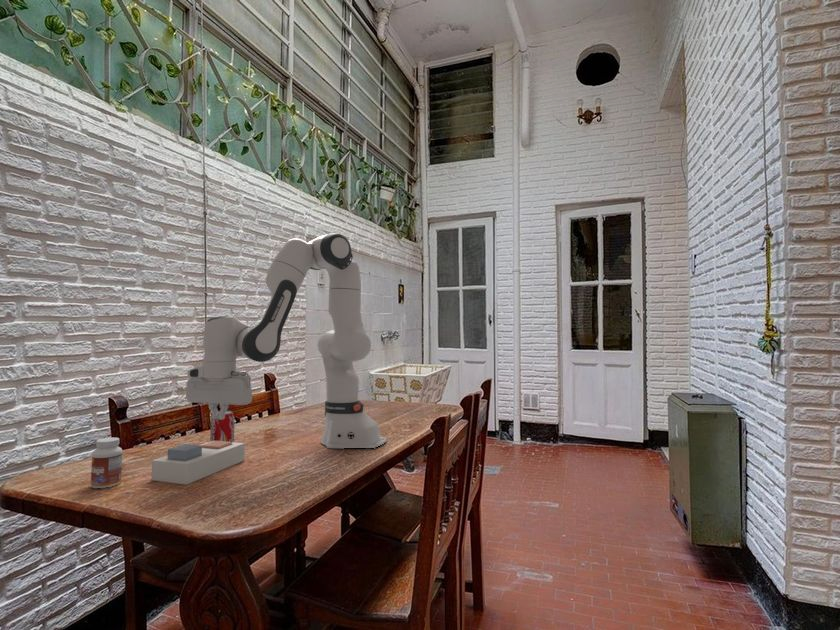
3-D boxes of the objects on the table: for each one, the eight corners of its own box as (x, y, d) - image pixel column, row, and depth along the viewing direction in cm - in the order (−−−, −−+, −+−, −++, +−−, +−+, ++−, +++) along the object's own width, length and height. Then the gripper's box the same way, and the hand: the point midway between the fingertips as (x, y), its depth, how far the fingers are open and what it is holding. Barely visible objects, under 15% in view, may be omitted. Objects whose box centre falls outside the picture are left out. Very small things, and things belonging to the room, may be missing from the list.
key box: (244, 460, 132) (244, 443, 132) (186, 484, 110) (187, 464, 111) (213, 457, 134) (213, 440, 135) (151, 480, 113) (151, 460, 114)
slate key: (201, 460, 119) (201, 445, 119) (185, 466, 113) (185, 450, 114) (184, 458, 120) (184, 443, 120) (167, 464, 115) (167, 449, 115)
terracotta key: (231, 455, 130) (232, 441, 130) (218, 461, 125) (218, 446, 125) (215, 454, 132) (216, 440, 132) (201, 459, 126) (202, 445, 126)
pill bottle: (84, 487, 108) (86, 440, 108) (110, 479, 114) (112, 435, 114) (100, 490, 106) (102, 443, 106) (126, 483, 111) (128, 438, 112)
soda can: (227, 452, 140) (228, 414, 140) (205, 452, 140) (206, 414, 140) (237, 447, 147) (238, 410, 147) (216, 446, 147) (217, 410, 147)
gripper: (257, 371, 130) (256, 419, 129) (198, 369, 135) (197, 415, 135) (242, 373, 123) (242, 423, 123) (182, 371, 129) (181, 419, 129)
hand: (218, 419), depth 129 cm, fingers closed
